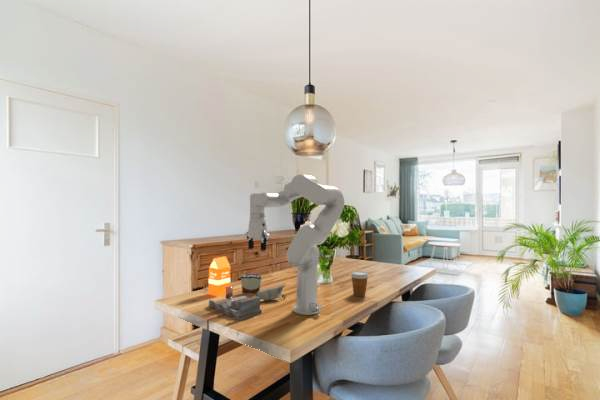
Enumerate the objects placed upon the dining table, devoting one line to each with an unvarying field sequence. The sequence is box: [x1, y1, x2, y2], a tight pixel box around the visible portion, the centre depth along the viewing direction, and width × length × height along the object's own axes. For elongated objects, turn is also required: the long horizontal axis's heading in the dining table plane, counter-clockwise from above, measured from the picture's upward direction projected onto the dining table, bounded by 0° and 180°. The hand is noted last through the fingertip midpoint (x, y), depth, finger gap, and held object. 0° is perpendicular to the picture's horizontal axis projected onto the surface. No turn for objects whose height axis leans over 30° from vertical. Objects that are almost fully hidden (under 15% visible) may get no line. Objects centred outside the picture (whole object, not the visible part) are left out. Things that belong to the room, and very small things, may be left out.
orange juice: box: [208, 256, 231, 298], centre depth 167 cm, size 8×9×20 cm
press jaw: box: [225, 285, 249, 310], centre depth 142 cm, size 10×9×8 cm
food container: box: [239, 273, 263, 295], centre depth 170 cm, size 12×6×10 cm, turn 84°
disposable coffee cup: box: [350, 270, 369, 297], centre depth 167 cm, size 10×10×12 cm
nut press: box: [208, 295, 263, 321], centre depth 142 cm, size 25×12×8 cm, turn 47°
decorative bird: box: [254, 284, 287, 302], centre depth 156 cm, size 5×16×8 cm, turn 114°
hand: (257, 249), depth 159 cm, fingers open, 9 cm apart
